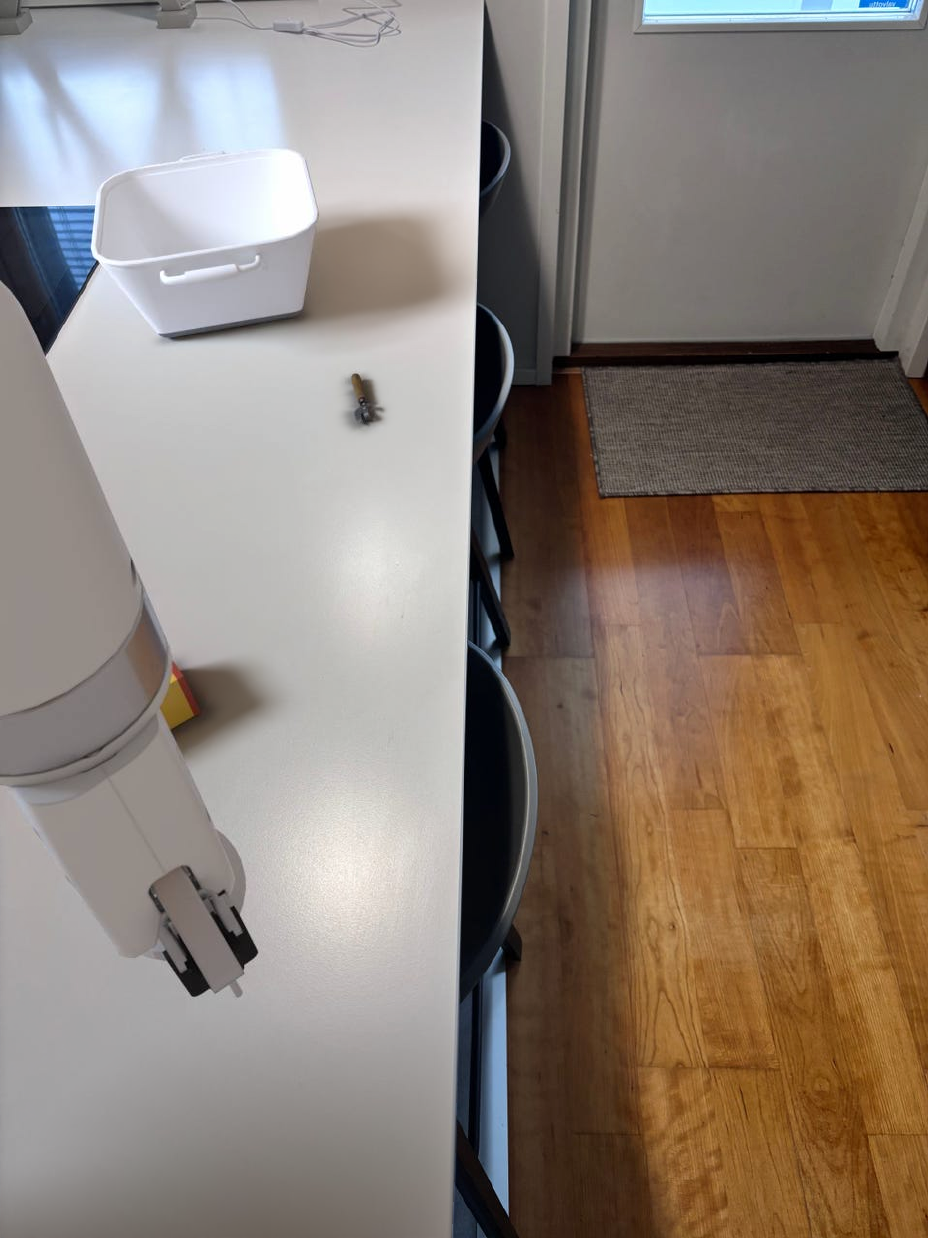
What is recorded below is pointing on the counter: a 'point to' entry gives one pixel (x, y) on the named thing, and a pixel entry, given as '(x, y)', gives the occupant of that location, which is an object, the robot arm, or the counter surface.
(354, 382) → the can opener
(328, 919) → the counter surface
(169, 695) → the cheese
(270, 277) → the tub
